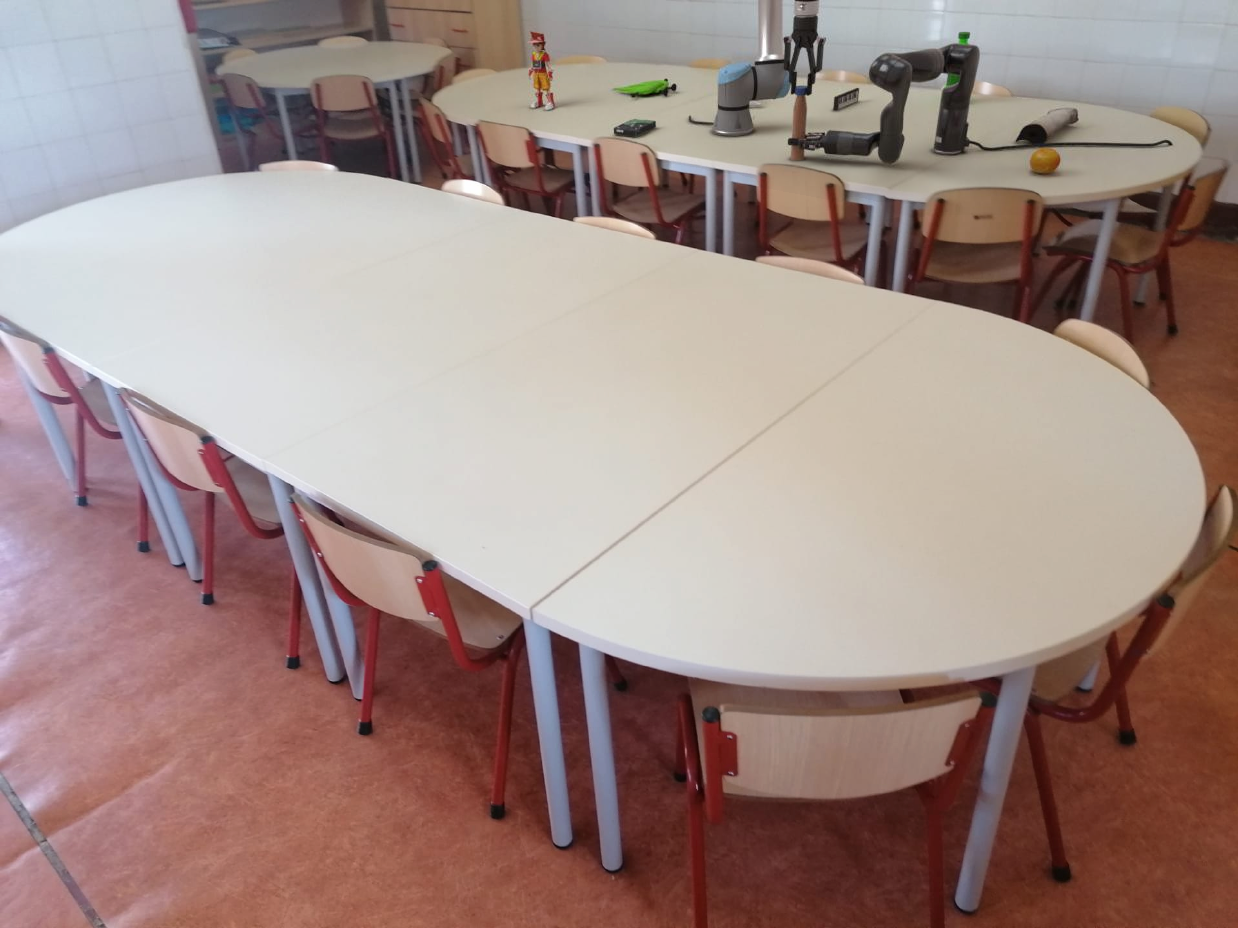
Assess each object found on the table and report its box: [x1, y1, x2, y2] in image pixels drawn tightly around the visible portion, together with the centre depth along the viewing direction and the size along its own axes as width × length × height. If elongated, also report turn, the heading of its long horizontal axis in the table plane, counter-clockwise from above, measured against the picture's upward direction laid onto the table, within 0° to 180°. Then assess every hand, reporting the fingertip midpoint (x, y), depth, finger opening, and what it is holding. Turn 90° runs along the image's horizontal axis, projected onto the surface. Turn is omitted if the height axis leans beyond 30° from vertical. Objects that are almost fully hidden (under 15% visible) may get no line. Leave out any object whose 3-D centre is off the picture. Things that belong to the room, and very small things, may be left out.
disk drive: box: [613, 118, 657, 138], centre depth 342 cm, size 10×3×15 cm
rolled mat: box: [1014, 107, 1080, 144], centre depth 311 cm, size 30×9×10 cm
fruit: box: [1029, 147, 1062, 174], centre depth 277 cm, size 8×8×8 cm
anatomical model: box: [749, 100, 763, 109], centre depth 366 cm, size 15×10×10 cm
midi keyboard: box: [832, 87, 860, 111], centre depth 357 cm, size 18×1×5 cm, turn 138°
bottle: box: [790, 95, 808, 162], centre depth 298 cm, size 4×4×23 cm
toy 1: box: [527, 31, 556, 111], centre depth 374 cm, size 12×9×30 cm
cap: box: [794, 85, 807, 96], centre depth 292 cm, size 4×4×2 cm
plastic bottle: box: [943, 31, 971, 88], centre depth 348 cm, size 10×10×25 cm
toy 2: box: [612, 78, 677, 99], centre depth 396 cm, size 28×5×30 cm
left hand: (801, 94), depth 293 cm, fingers open, 5 cm apart
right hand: (790, 139), depth 302 cm, fingers closed on bottle, 4 cm apart
